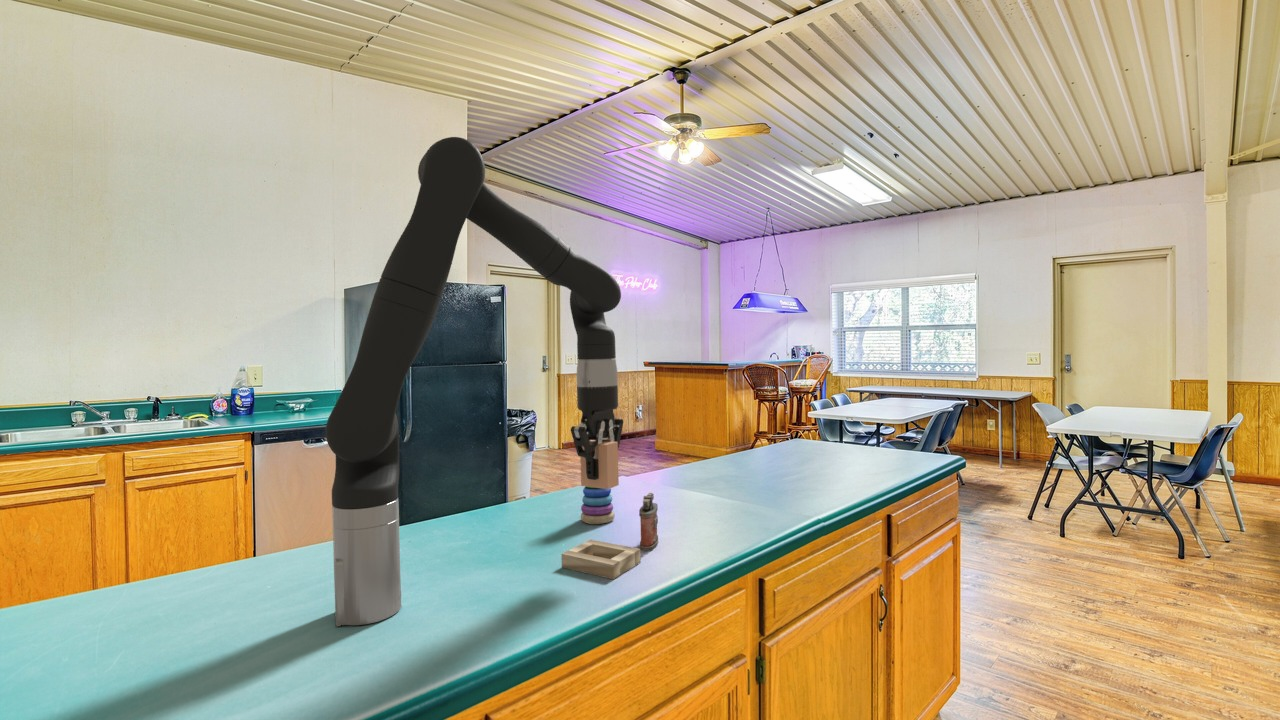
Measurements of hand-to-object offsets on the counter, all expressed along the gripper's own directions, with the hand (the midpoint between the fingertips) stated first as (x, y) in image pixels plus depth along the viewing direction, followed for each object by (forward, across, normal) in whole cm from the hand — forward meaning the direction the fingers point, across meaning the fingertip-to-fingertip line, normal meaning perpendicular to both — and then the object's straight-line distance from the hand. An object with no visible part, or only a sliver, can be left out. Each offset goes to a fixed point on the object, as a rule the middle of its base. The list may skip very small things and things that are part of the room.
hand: (599, 476), depth 106 cm
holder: (+16, 0, 0) cm, 16 cm away
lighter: (+17, +14, -2) cm, 22 cm away
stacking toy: (+17, +22, +17) cm, 33 cm away
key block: (+2, 0, 0) cm, 2 cm away
